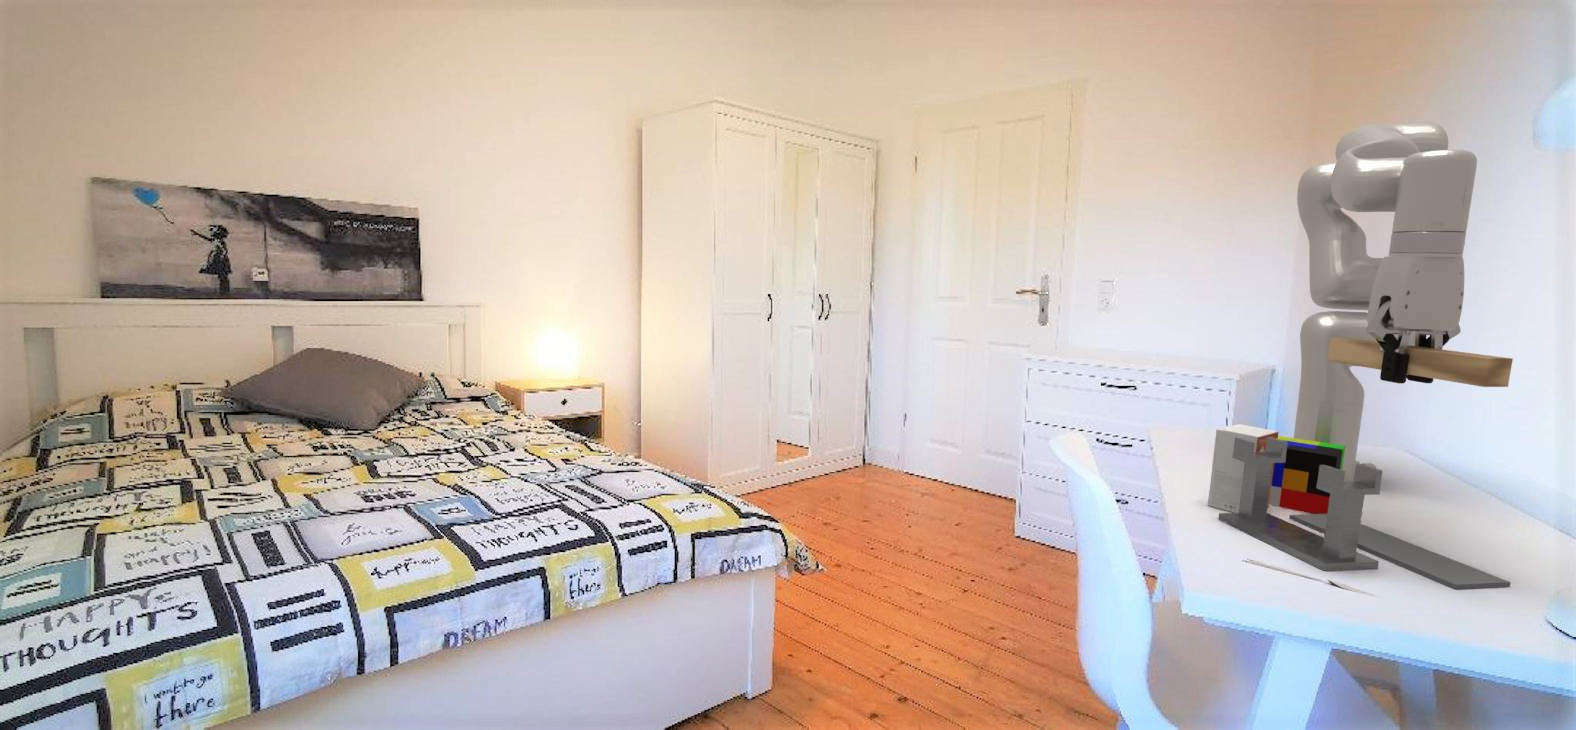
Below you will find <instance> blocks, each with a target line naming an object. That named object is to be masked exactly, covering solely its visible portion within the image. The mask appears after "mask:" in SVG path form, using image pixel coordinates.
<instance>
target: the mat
mask: <svg viewBox="0 0 1576 730" xmlns="http://www.w3.org/2000/svg"><path fill="white" fill-rule="evenodd" d="M1288 519H1290V520H1291V521H1292V520H1293V521H1294V522H1296V523H1299V524H1302V525H1304V526H1306V527H1308V528H1310V529H1313V530H1315V531H1318V532H1319V533H1322V534H1325V528H1326V521H1327V514H1311V513H1305V514H1289V518H1288ZM1357 549H1359V550H1362V551H1365V552H1367V553H1369V554H1372V555H1374V556H1376V557H1379V558H1381V559H1383V560H1386V561H1388V562H1391V563H1393V564H1395V565H1396V566H1400V567H1402V568H1404V569H1407V570H1409V571H1411V572H1414V573H1416V574H1419V575H1421V576H1423V577H1425V578H1427V579H1430V580H1433V581H1435V582H1438V583H1439V582H1440V583H1439V584H1442V585H1444V586H1447V587H1449V588H1451V589H1453V590H1468V589H1471V588H1472V589H1487V588H1488V589H1489V588H1505V587H1506V588H1507V587H1511V581H1508V580H1506V579H1504V578H1501V577H1498V576H1497V575H1494V574H1491V573H1488V572H1485V571H1483V570H1481V569H1479V568H1475V567H1473V566H1470V565H1468V564H1466V563H1463V562H1460V561H1457V560H1455V559H1453V558H1450V557H1447V556H1446V555H1445V556H1444V555H1442V554H1439V553H1436V552H1434V551H1432V550H1431V549H1430V550H1429V549H1427V548H1425V547H1422V546H1419V545H1417V544H1414V543H1412V542H1409V541H1406V540H1403V539H1401V538H1399V537H1396V536H1394V535H1391V534H1388V533H1385V532H1383V531H1380V530H1378V529H1375V528H1373V527H1370V526H1368V525H1366V524H1363V523H1360V530H1359V537H1358V544H1357Z"/></svg>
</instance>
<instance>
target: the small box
mask: <svg viewBox="0 0 1576 730" xmlns="http://www.w3.org/2000/svg"><path fill="white" fill-rule="evenodd" d="M1279 432H1280V431H1278V430H1273V429H1267V428H1263V427H1257V426H1254V425H1253V426H1252V425H1246V424H1243V423H1242V424H1241V423H1237V424H1234V425H1227V426H1224V427H1221V428H1216V433H1215V439H1214V449H1213V457H1212V464H1211V465H1212V466H1211V477H1210V484H1209V492H1208V493H1209V494H1208V501H1207V506H1209V507H1212V506H1213V507H1212V508H1216V509H1219V508H1220V510H1224V511H1227V512H1230V511H1231V512H1230V513H1239V505H1240V497H1241V488H1242V480H1243V471H1244V463H1245V462H1242V461H1239V460H1237V459H1234V458H1232V457H1233V450H1234V442H1235V438H1239V437H1240V438H1243V439H1246V440H1249V441H1252V442H1255V446H1254V452H1265V451H1266V442H1267V437H1273V438H1276V439H1278V436H1279ZM1273 470H1274V463H1272V471H1271V479H1270V487H1269V496H1268V504H1267V509H1268V508H1269V507H1270V505H1269V501H1270V493H1271V485H1272V478H1273Z"/></svg>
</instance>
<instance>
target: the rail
mask: <svg viewBox="0 0 1576 730" xmlns="http://www.w3.org/2000/svg"><path fill="white" fill-rule="evenodd" d="M1383 354H1384V352H1382V351H1381V350H1380V344H1379V343H1378V342H1377V341H1371V340H1363V339H1355V338H1330V345H1329V352H1328V360H1327V361H1332V362H1338V363H1344V364H1350V365H1355V366H1354V367H1363V368H1369V369H1374V370H1378V371H1379V370H1380V371H1381V368H1382V361H1383ZM1404 354H1409V362H1408V368H1407V374H1409V375H1415V376H1421V377H1427V378H1433V380H1440V381H1446V382H1451V383H1452V382H1453V383H1457V384H1462V385H1463V384H1465V385H1471V386H1475V387H1481V388H1503V387H1504V388H1505V387H1506V388H1509V382H1510V379H1511V378H1510V376H1511V371H1512V365H1513V361H1514V358H1513V357H1512V358H1511V357H1504V356H1496V355H1489V354H1480V353H1473V352H1472V353H1471V352H1464V351H1457V350H1448V349H1443V348H1442V349H1434V348H1426V347H1418V346H1410V345H1408V346H1407V350H1406V352H1405V353H1404Z"/></svg>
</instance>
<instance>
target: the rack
mask: <svg viewBox="0 0 1576 730" xmlns="http://www.w3.org/2000/svg"><path fill="white" fill-rule="evenodd" d="M1287 444H1288V442H1286V441H1283V440H1280V439H1276V438H1273V437H1267V442H1266V451H1265V452H1254V446H1255V442H1252V441H1249V440H1246V439H1243V438H1240V437H1239V438H1235V442H1234V450H1233V457H1232V458H1234V459H1237V460H1239V461H1242V462H1245V463H1244V471H1243V480H1242V488H1241V497H1240V505H1239V513H1234V512H1223V513H1222V512H1220V513H1218V518H1217V519H1219V520H1218V521H1220V520H1221V522H1222V521H1224V522H1226V523H1227V524H1226V523H1225V524H1226V525H1229V526H1230V527H1233V528H1235V529H1237V528H1238V529H1237V530H1238V531H1241V532H1243V531H1244V533H1245V532H1246V533H1245V534H1247V533H1248V534H1247V535H1250V536H1251V535H1252V536H1251V537H1253V536H1254V537H1253V538H1255V539H1257V538H1258V540H1259V541H1261V542H1264V543H1266V544H1268V545H1270V546H1272V547H1273V548H1276V549H1278V550H1280V551H1283V552H1285V553H1286V554H1288V555H1291V556H1293V557H1294V558H1297V559H1299V560H1300V561H1303V562H1304V563H1307V564H1309V565H1311V566H1313V567H1315V568H1318V570H1321V571H1323V572H1331V571H1332V572H1333V571H1352V570H1355V571H1356V570H1373V569H1376V570H1378V568H1379V560H1378V559H1377V560H1376V559H1374V558H1372V557H1369V556H1367V555H1365V554H1362V553H1361V552H1359V551H1358V550H1357V549H1358V548H1357V544H1358V537H1359V530H1360V524H1362V523H1361V521H1362V514H1363V509H1364V500H1365V495H1370V496H1371V495H1380V492H1381V485H1382V484H1381V483H1382V478H1383V477H1382V476H1383V470H1382V469H1379V468H1377V467H1376V468H1373V467H1369V466H1366V465H1363V464H1364V463H1360V464H1356V468H1355V475H1354V482H1344V477H1345V471H1343V470H1340V469H1337V468H1333V467H1330V466H1327V465H1320V466H1319V474H1318V482H1317V487H1316V488H1317V489H1320V490H1322V491H1325V492H1328V493H1330V499H1329V506H1328V513H1327V521H1326V528H1325V533H1324V535H1323V536H1321V535H1318V534H1317V533H1315V532H1312V531H1310V530H1307V529H1305V528H1303V527H1300V526H1298V525H1296V524H1293V523H1291V522H1289V521H1287V520H1284V519H1282V518H1281V517H1278V516H1275V515H1273V514H1270V513H1268V512H1267V511H1268V508H1267V504H1268V496H1269V487H1270V479H1271V471H1272V463H1285V462H1286V452H1287ZM1224 522H1223V523H1224Z"/></svg>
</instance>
